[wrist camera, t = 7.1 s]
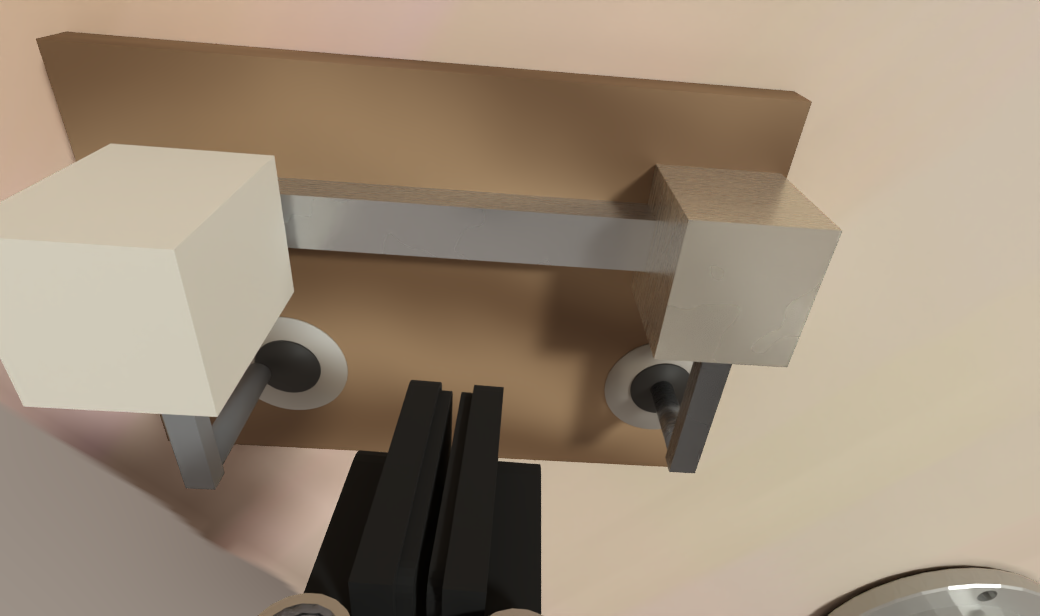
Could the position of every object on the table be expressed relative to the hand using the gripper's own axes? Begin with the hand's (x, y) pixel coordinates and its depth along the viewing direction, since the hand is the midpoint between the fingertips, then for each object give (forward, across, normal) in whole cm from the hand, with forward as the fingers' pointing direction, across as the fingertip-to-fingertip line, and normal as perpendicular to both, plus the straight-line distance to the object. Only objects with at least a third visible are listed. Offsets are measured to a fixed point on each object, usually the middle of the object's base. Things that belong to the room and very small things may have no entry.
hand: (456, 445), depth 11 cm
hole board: (+10, +2, +2) cm, 10 cm away
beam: (+8, +1, +1) cm, 9 cm away
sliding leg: (+8, +8, +1) cm, 11 cm away
